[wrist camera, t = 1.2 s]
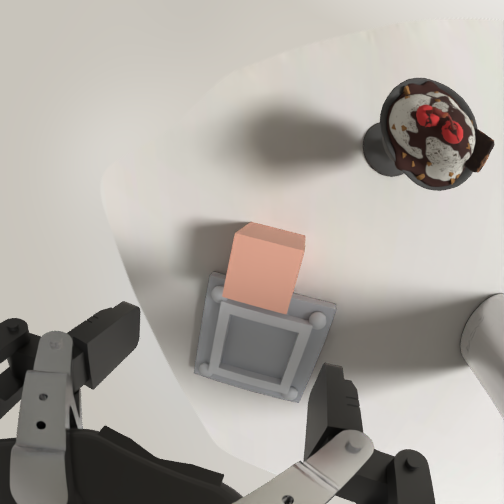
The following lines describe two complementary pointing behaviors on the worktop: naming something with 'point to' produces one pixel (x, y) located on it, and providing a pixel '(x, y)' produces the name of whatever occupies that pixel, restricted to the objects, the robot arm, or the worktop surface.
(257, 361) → the plate
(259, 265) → the block
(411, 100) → the sundae
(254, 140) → the worktop surface
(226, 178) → the worktop surface
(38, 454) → the robot arm
